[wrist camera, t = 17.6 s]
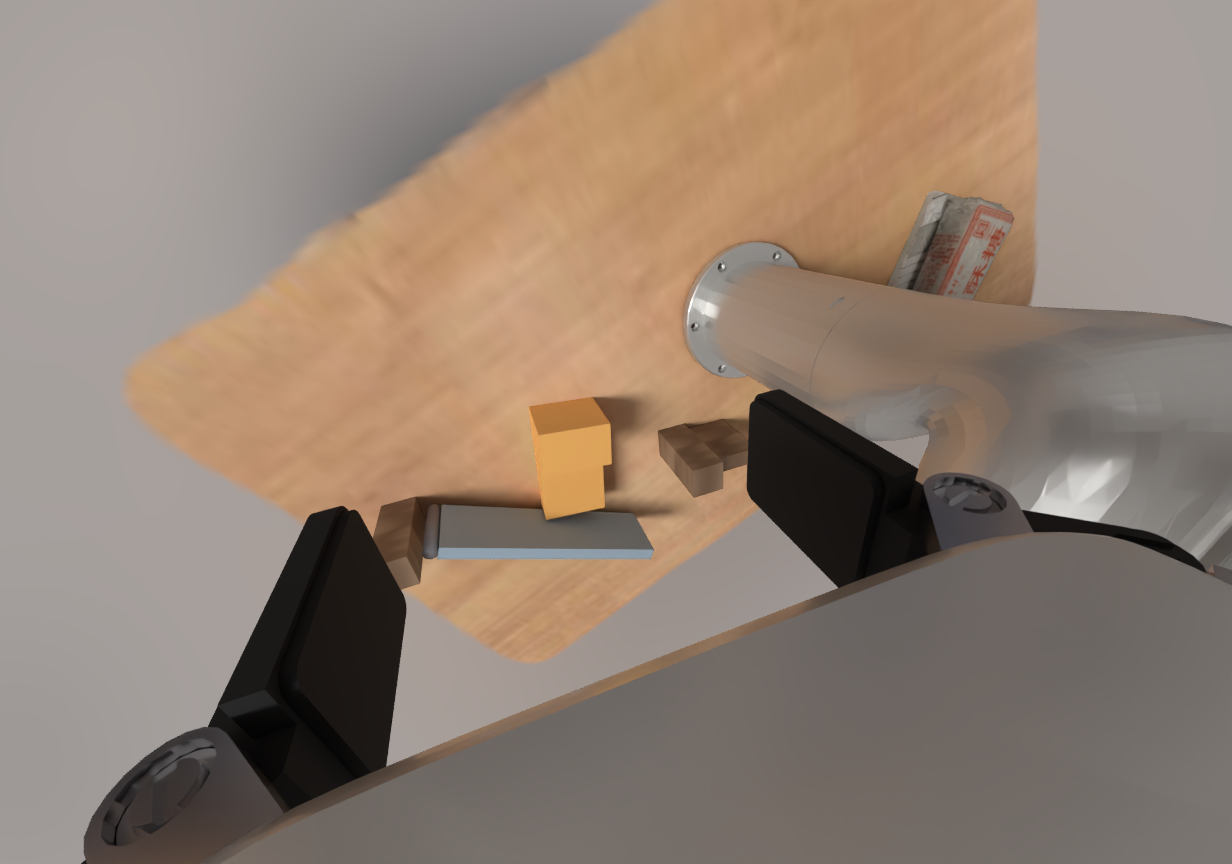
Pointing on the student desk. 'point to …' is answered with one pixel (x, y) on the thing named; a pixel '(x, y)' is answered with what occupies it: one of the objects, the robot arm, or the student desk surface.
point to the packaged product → (951, 246)
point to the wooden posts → (683, 449)
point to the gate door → (531, 534)
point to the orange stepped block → (570, 455)
